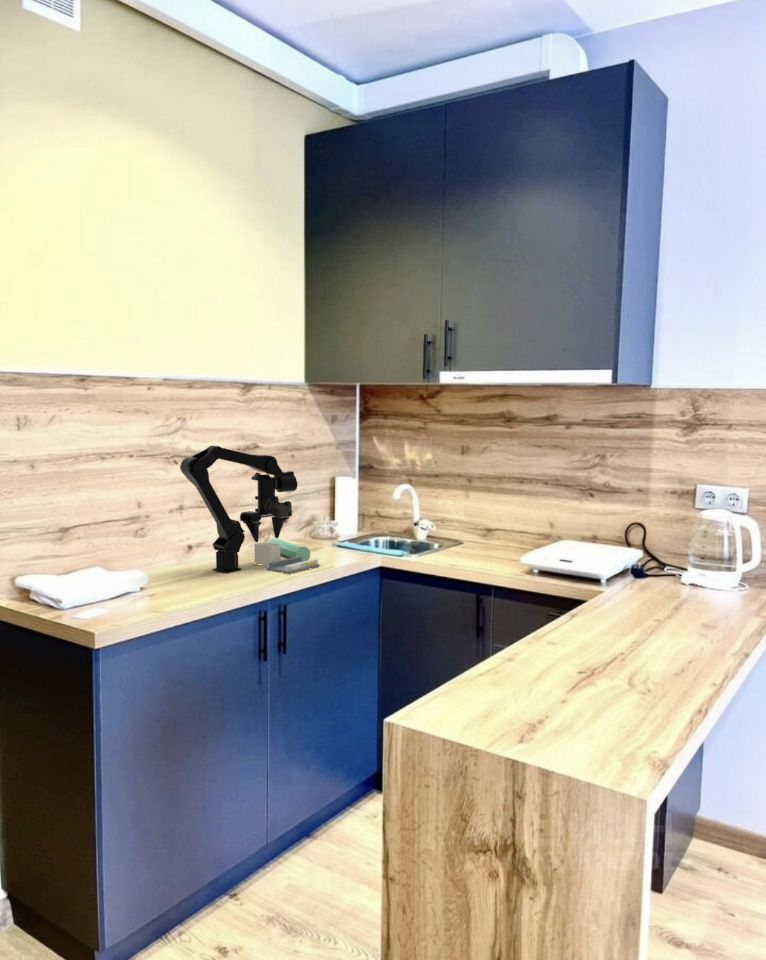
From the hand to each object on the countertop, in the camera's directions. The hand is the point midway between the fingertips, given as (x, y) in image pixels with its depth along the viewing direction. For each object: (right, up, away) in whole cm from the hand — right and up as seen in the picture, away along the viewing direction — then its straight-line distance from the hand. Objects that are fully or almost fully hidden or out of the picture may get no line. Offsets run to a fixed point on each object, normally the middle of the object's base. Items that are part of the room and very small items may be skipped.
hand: (266, 540), depth 249 cm
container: (+5, -7, +15) cm, 18 cm away
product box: (0, -8, +1) cm, 8 cm away
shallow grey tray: (+10, -9, -5) cm, 14 cm away
